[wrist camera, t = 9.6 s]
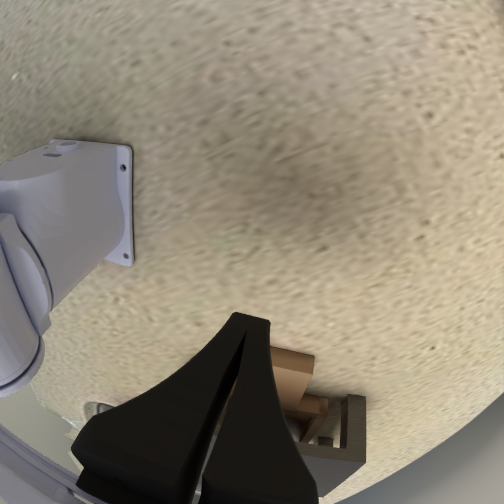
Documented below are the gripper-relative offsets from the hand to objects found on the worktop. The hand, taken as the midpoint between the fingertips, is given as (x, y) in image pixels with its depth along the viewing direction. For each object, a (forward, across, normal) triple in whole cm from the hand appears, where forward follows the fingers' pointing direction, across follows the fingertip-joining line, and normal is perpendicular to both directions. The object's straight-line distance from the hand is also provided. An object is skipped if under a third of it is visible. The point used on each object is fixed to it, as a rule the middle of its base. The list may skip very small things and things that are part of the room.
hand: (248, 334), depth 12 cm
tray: (+10, -3, +18) cm, 21 cm away
